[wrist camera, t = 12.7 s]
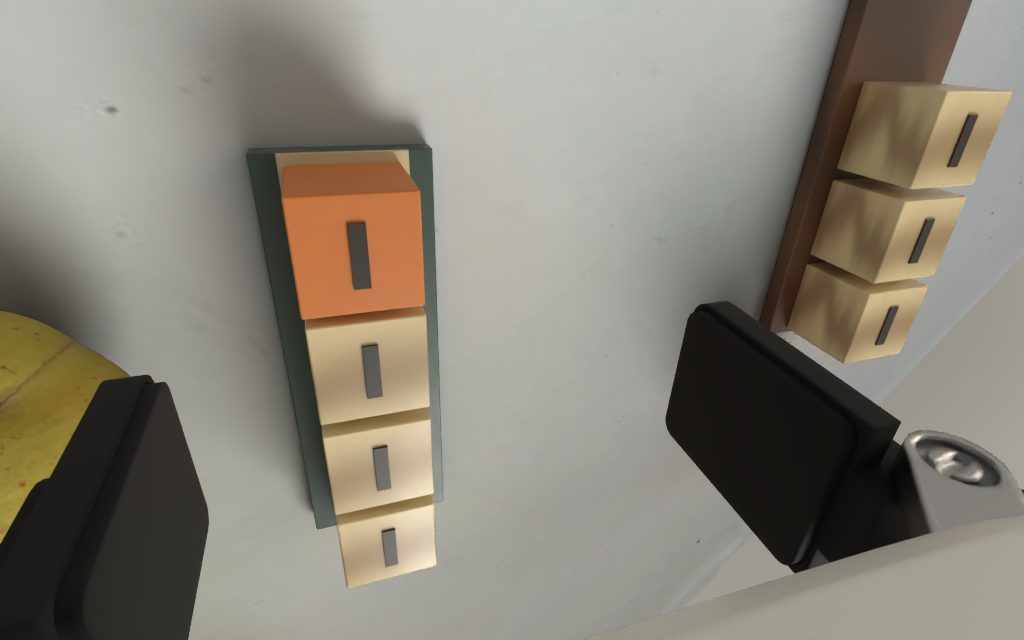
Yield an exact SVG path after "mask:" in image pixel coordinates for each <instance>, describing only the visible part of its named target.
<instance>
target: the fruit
mask: <svg viewBox="0 0 1024 640" xmlns="http://www.w3.org/2000/svg"><path fill="white" fill-rule="evenodd" d="M125 377H130V376H129V375H128V374H127V373H126V372H125V371H124V370H122V369H121V368H120V367H118V366H117V365H116V364H114V363H113V362H111V361H110V360H108V359H106V358H105V357H103V356H102V355H100V354H98V353H96V352H94V351H92V350H90V349H88V348H86V347H84V346H83V345H81V344H79V343H77V342H75V341H74V340H72V339H71V338H70V337H68V336H67V335H65V334H63V333H62V332H60V331H58V330H56V329H54V328H52V327H50V326H48V325H46V324H44V323H42V322H39V321H37V320H34V319H32V318H29V317H25V316H22V315H19V314H15V313H10V312H5V311H0V544H1V542H2V540H3V538H4V536H5V535H6V533H7V531H8V529H9V528H10V526H11V524H12V522H13V520H14V519H15V517H16V515H17V513H18V512H19V510H20V508H21V506H22V504H23V503H24V501H25V499H26V497H27V496H28V494H29V492H30V491H31V490H32V488H33V487H34V486H35V484H36V483H38V482H39V481H41V480H43V479H46V478H50V476H51V474H52V472H53V470H54V468H55V467H56V465H57V463H58V461H59V459H60V457H61V455H62V454H63V452H64V450H65V448H66V446H67V444H68V442H69V441H70V439H71V437H72V435H73V433H74V431H75V429H76V428H77V426H78V424H79V422H80V420H81V418H82V416H83V415H84V413H85V411H86V409H87V407H88V405H89V403H90V402H91V400H92V398H93V396H94V394H95V392H96V390H97V389H98V387H99V385H100V384H101V382H102V381H104V380H109V379H117V378H125Z"/></svg>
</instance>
